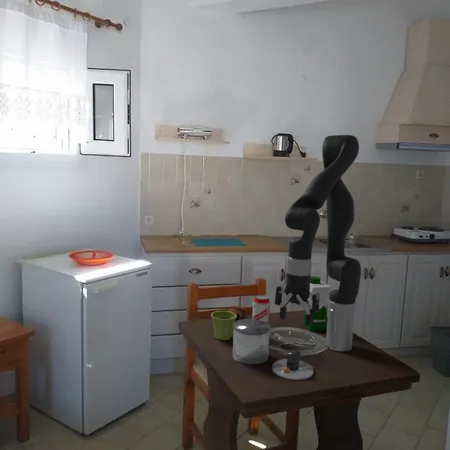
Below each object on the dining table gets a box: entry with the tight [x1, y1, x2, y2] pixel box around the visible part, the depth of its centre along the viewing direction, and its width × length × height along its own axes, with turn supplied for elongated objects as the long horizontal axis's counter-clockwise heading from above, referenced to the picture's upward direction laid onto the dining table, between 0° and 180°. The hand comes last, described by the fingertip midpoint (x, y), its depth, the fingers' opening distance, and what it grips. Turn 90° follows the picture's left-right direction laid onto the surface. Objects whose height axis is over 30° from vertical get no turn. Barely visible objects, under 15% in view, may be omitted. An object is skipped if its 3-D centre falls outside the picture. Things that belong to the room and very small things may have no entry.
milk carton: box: [302, 276, 332, 332], centre depth 193 cm, size 9×9×20 cm
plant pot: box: [210, 310, 237, 341], centre depth 180 cm, size 9×9×9 cm
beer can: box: [251, 294, 271, 324], centre depth 180 cm, size 6×6×16 cm
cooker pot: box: [232, 318, 272, 365], centre depth 164 cm, size 13×13×11 cm
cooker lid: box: [271, 349, 314, 381], centre depth 155 cm, size 13×13×6 cm
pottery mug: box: [227, 305, 248, 322], centre depth 194 cm, size 12×10×8 cm
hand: (295, 321), depth 153 cm, fingers open, 8 cm apart
